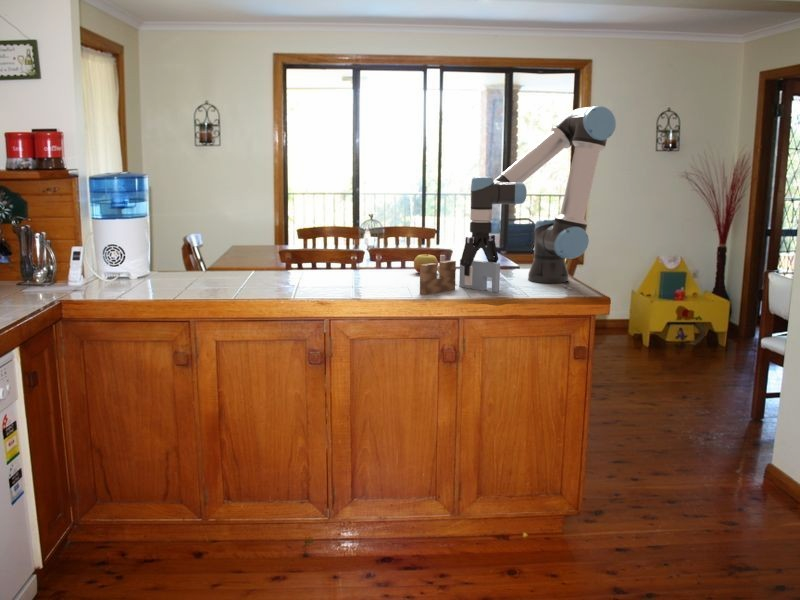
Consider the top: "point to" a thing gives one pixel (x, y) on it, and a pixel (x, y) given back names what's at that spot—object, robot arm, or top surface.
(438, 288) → the notched wooden slab
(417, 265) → the apple
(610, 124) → the robot arm
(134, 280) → the top surface
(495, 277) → the grey notched arch block
